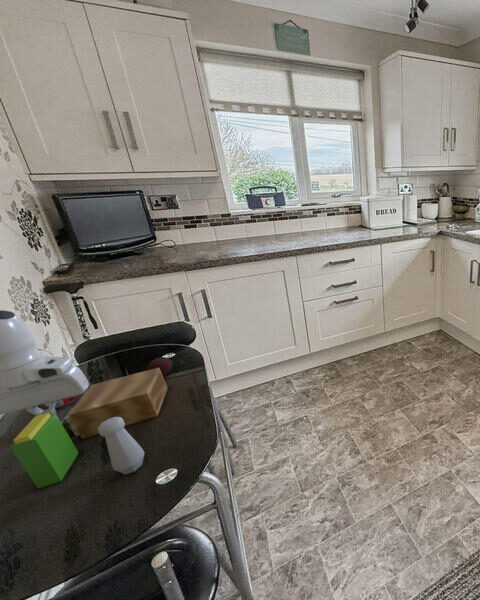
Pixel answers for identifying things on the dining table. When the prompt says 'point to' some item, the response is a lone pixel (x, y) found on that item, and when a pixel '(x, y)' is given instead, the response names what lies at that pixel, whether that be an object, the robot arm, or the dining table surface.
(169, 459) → the dining table surface
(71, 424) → the drawer
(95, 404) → the cabinet
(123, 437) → the salt shaker
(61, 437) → the green box yellow lid
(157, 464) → the dining table surface
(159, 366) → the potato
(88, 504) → the dining table surface
